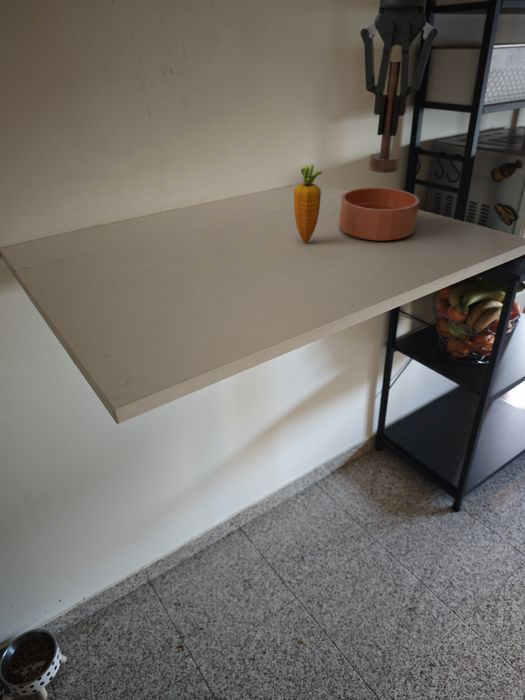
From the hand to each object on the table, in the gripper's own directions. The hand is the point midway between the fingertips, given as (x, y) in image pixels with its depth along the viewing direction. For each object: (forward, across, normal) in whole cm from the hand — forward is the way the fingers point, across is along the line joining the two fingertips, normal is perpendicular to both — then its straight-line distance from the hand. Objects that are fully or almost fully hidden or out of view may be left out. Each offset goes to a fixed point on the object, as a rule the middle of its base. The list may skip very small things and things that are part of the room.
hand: (387, 133), depth 94 cm
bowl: (+19, 0, 0) cm, 19 cm away
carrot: (+19, +12, +12) cm, 25 cm away
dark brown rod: (+6, 0, 0) cm, 6 cm away
